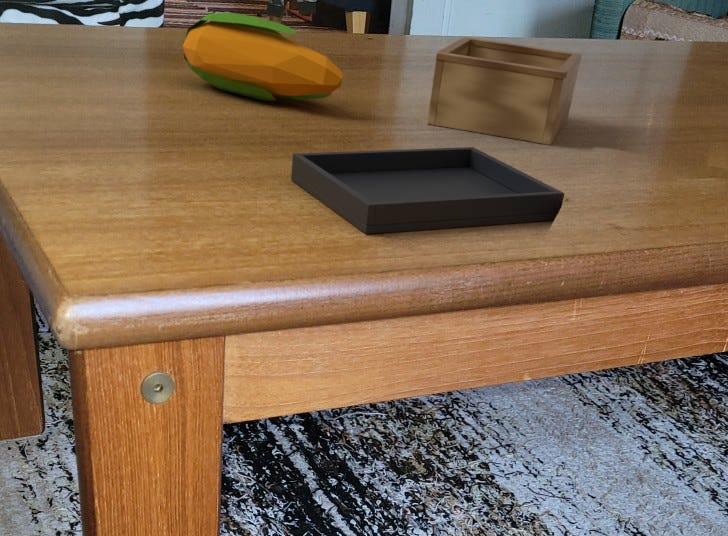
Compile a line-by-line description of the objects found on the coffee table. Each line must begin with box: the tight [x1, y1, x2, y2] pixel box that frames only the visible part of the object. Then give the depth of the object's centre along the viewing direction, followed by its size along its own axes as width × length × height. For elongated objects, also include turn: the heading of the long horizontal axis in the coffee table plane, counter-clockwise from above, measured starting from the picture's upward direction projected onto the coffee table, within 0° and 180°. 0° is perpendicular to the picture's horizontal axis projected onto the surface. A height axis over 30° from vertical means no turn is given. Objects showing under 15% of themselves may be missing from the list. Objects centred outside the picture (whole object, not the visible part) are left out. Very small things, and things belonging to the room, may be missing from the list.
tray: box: [290, 146, 565, 235], centre depth 78 cm, size 17×13×2 cm
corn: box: [182, 12, 344, 102], centre depth 101 cm, size 7×8×20 cm
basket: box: [426, 36, 583, 146], centre depth 102 cm, size 13×13×7 cm
